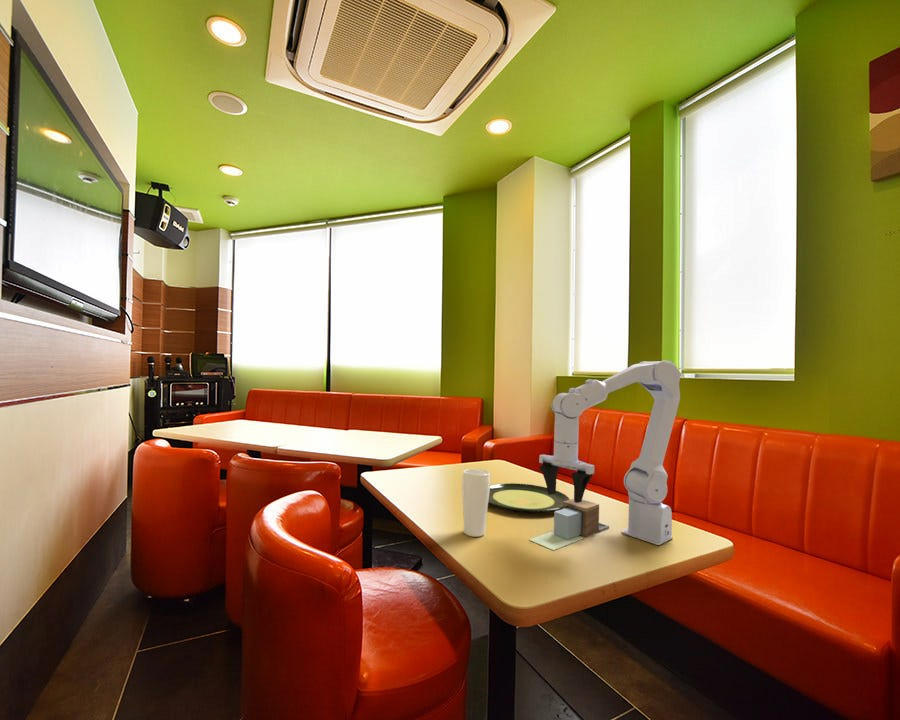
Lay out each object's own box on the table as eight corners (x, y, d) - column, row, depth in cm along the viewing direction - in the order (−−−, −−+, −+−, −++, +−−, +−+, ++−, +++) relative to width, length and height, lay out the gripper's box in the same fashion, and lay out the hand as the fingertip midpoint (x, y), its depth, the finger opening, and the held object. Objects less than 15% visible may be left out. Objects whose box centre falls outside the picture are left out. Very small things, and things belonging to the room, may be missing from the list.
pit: (609, 528, 109) (609, 525, 109) (600, 531, 106) (600, 529, 106) (585, 520, 114) (585, 518, 114) (576, 523, 111) (576, 521, 111)
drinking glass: (465, 540, 98) (467, 475, 98) (457, 529, 104) (459, 468, 105) (492, 538, 99) (494, 474, 100) (482, 527, 106) (484, 468, 106)
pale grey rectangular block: (595, 529, 107) (595, 507, 107) (567, 539, 99) (568, 516, 99) (581, 524, 110) (581, 503, 110) (553, 534, 102) (554, 511, 102)
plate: (576, 523, 112) (576, 514, 113) (473, 513, 117) (474, 504, 117) (564, 494, 140) (564, 486, 140) (481, 487, 145) (482, 479, 145)
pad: (583, 538, 101) (583, 537, 101) (553, 550, 93) (553, 549, 93) (559, 529, 106) (559, 528, 106) (529, 540, 99) (529, 539, 99)
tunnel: (598, 532, 106) (599, 504, 106) (585, 537, 102) (586, 508, 102) (575, 524, 111) (576, 497, 111) (562, 529, 107) (563, 501, 107)
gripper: (532, 438, 105) (530, 492, 105) (582, 448, 94) (581, 508, 94) (549, 436, 110) (547, 488, 109) (599, 445, 99) (598, 503, 98)
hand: (564, 497), depth 102 cm, fingers open, 7 cm apart
